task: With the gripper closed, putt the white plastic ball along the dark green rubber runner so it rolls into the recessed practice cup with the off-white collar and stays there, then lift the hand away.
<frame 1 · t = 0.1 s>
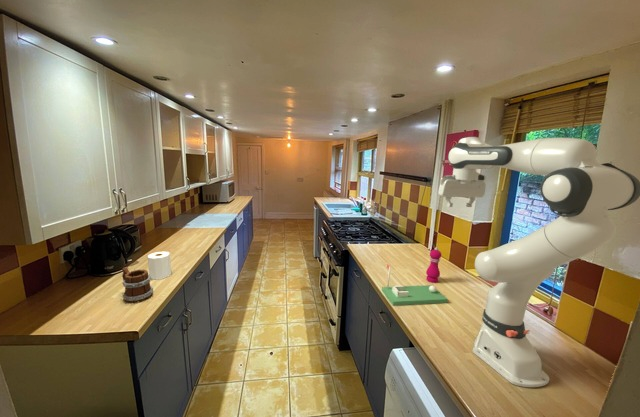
hand: (459, 206, 116), 48 cm above the counter, fingers open, 8 cm apart
pepper mill: (432, 280, 150), on the counter
green: (413, 296, 131), on the counter
toilet paper: (160, 275, 143), on the counter
wooden bucket: (136, 296, 122), on the counter
ball: (432, 289, 132), point 4 cm above the counter, touching green
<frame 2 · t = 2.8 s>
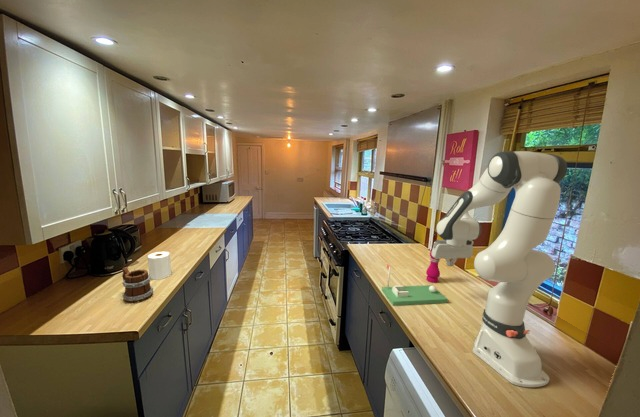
hand: (449, 265, 131), 16 cm above the counter, fingers closed
nothing on the counter moved.
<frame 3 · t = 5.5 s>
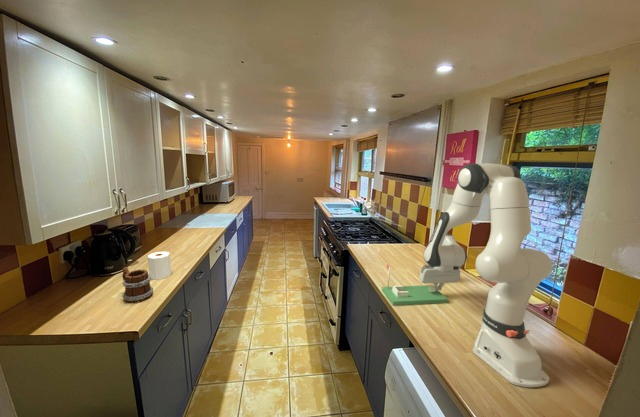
hand: (437, 289, 132), 3 cm above the counter, fingers closed
ball: (432, 289, 132), point 4 cm above the counter, tilted 7°, touching green, gripper
everything else where it was.
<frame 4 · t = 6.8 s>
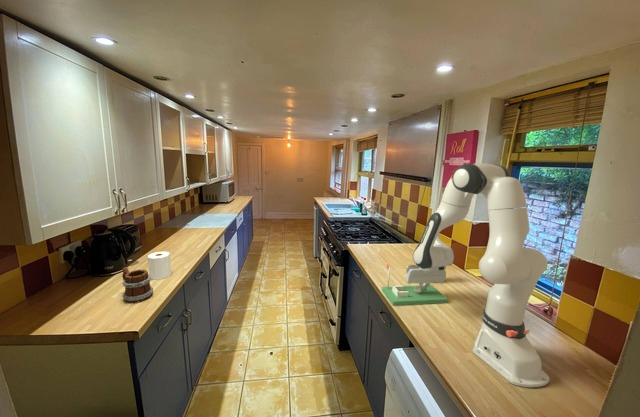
hand: (423, 290, 131), 3 cm above the counter, fingers closed
ball: (417, 289, 131), point 4 cm above the counter, tilted 101°, touching green
everything else where it was.
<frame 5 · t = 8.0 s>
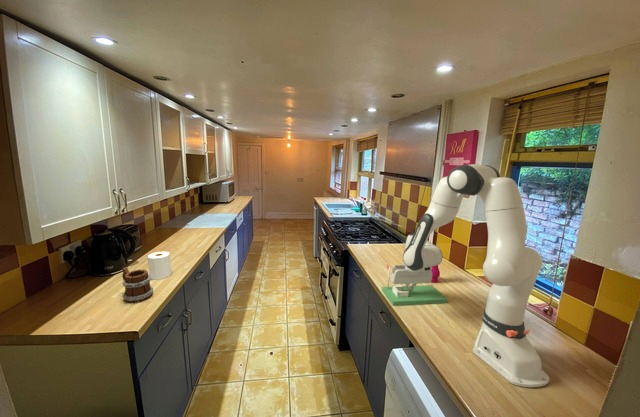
hand: (409, 290, 130), 3 cm above the counter, fingers closed
ball: (399, 293, 130), point 2 cm above the counter, tilted 109°
everything else where it was.
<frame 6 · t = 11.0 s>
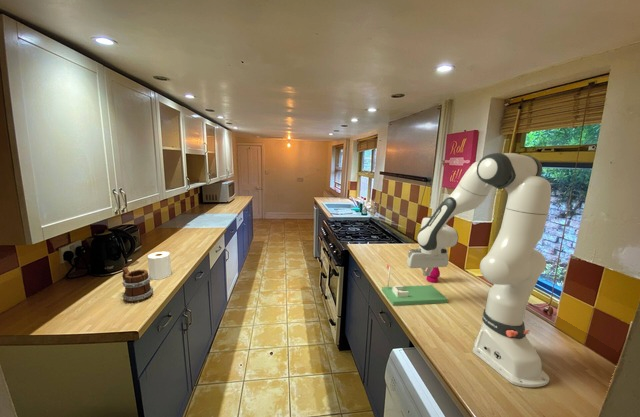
hand: (426, 275, 129), 12 cm above the counter, fingers closed
ball: (399, 293, 130), point 2 cm above the counter, tilted 117°
everything else where it was.
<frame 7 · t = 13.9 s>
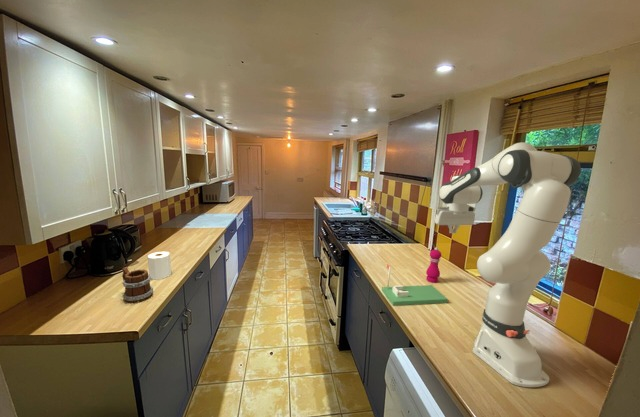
hand: (452, 233, 135), 31 cm above the counter, fingers closed
ball: (400, 293, 130), point 2 cm above the counter, tilted 124°
everything else where it was.
at the end: ball 0.1 cm from the target spot on the green, point 1.7 cm above the green's base; ball point 1.7 cm above the counter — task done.
